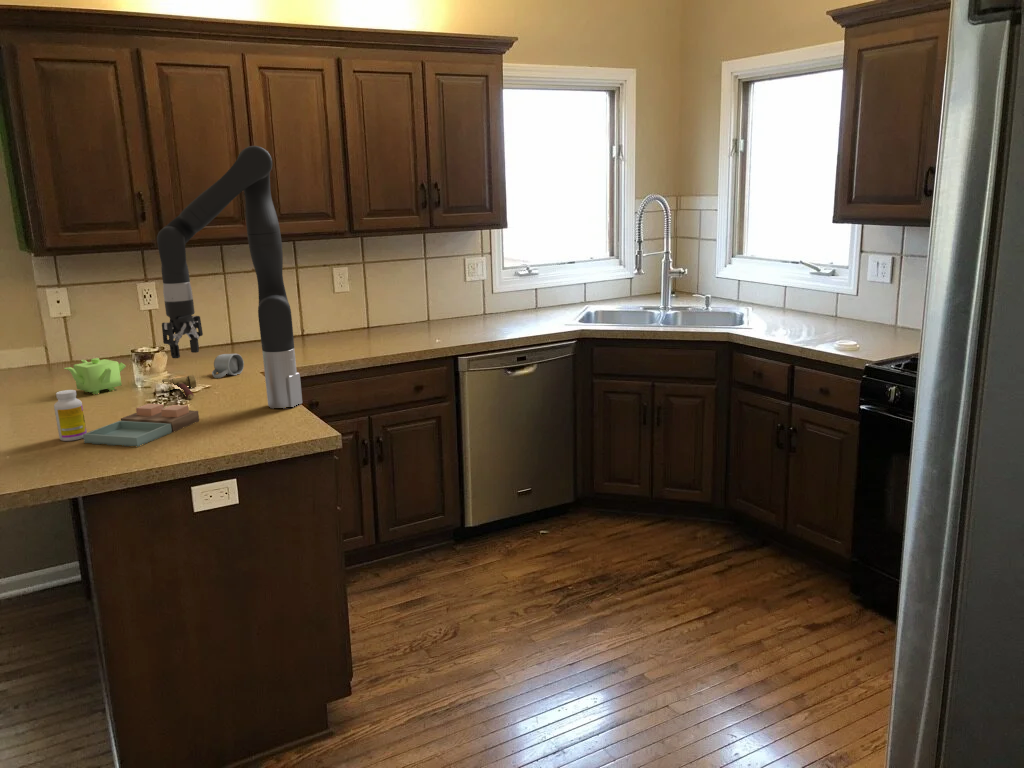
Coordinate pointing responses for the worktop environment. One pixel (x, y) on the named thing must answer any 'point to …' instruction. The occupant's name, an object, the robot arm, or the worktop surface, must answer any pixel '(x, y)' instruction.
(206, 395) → the worktop surface
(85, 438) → the tray
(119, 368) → the kettle
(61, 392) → the supplement bottle
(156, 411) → the tile
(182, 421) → the dark brown wooden board
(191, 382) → the gavel
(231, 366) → the ceramic mug
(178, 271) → the robot arm
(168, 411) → the tile
